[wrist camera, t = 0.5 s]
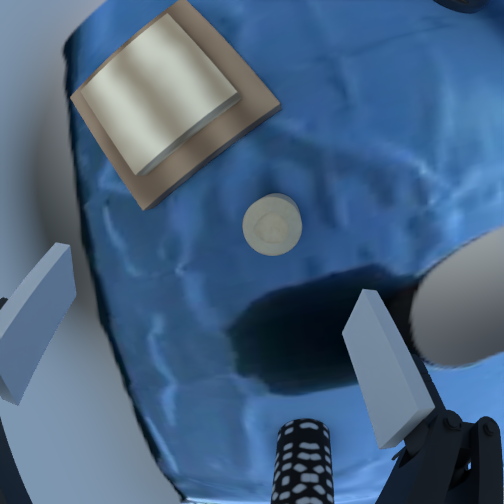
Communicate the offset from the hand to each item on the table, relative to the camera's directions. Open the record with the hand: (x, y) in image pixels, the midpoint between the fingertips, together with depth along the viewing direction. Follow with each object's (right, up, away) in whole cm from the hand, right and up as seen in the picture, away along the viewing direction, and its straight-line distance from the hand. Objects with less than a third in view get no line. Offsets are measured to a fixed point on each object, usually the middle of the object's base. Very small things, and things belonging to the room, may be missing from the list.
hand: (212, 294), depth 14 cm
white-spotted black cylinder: (+10, -28, +32) cm, 43 cm away
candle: (+5, +6, +25) cm, 26 cm away
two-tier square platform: (-9, +21, +23) cm, 32 cm away
